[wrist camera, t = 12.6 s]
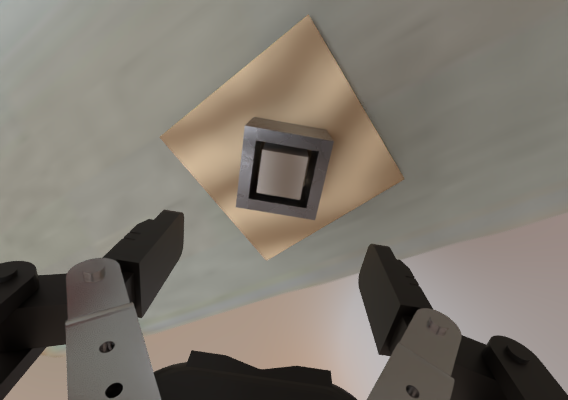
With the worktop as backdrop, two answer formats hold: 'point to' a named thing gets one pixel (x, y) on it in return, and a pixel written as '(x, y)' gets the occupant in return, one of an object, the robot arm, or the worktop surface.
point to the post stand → (279, 158)
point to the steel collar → (286, 136)
